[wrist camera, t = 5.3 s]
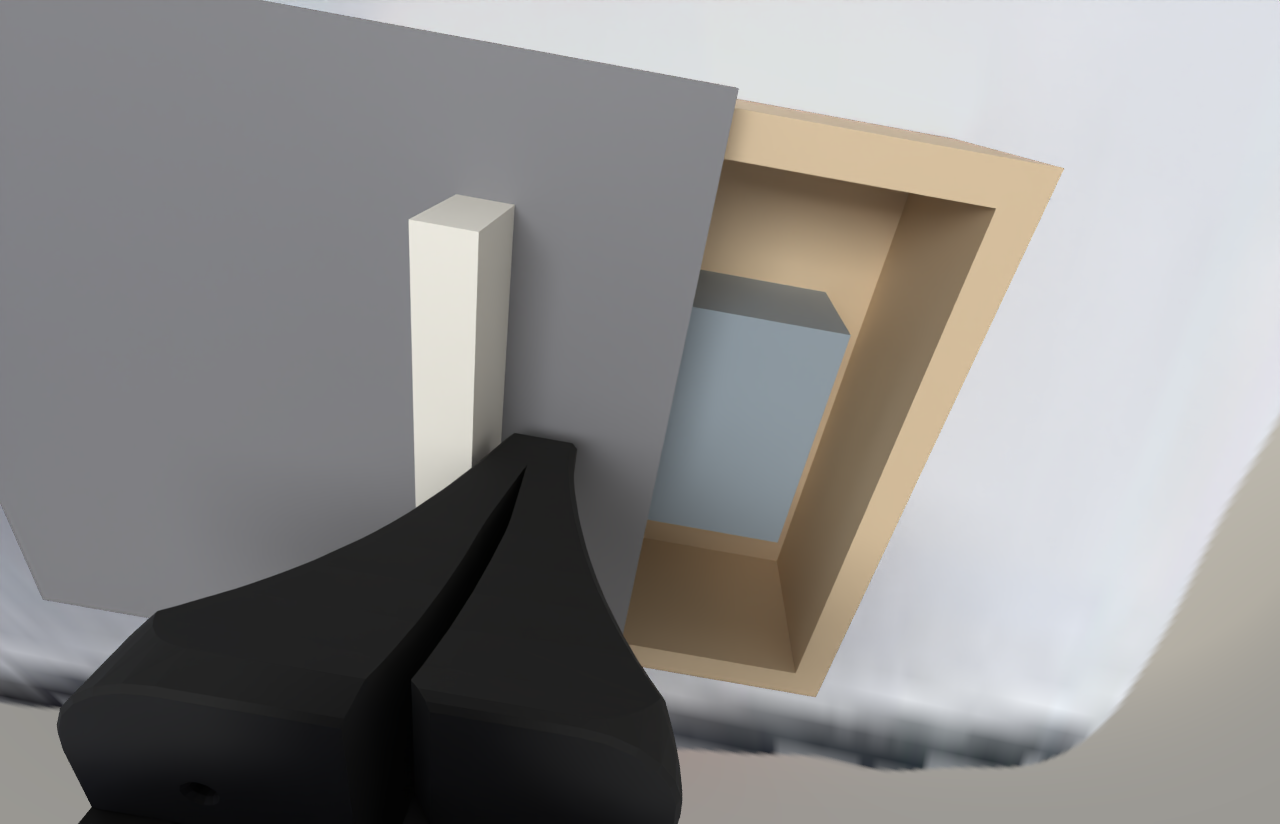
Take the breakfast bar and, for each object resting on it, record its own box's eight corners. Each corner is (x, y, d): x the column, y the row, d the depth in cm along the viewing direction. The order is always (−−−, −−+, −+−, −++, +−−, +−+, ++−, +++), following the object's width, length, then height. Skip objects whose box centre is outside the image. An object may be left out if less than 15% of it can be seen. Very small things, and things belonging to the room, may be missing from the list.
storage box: (394, 500, 21) (317, 610, 17) (372, 32, 15) (234, 15, 10) (791, 570, 22) (815, 697, 17) (954, 139, 15) (1064, 168, 10)
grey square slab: (117, 539, 18) (-35, 663, 15) (-88, -66, 11) (-490, -134, 7) (619, 627, 19) (599, 771, 15) (730, 84, 11) (748, 92, 8)
